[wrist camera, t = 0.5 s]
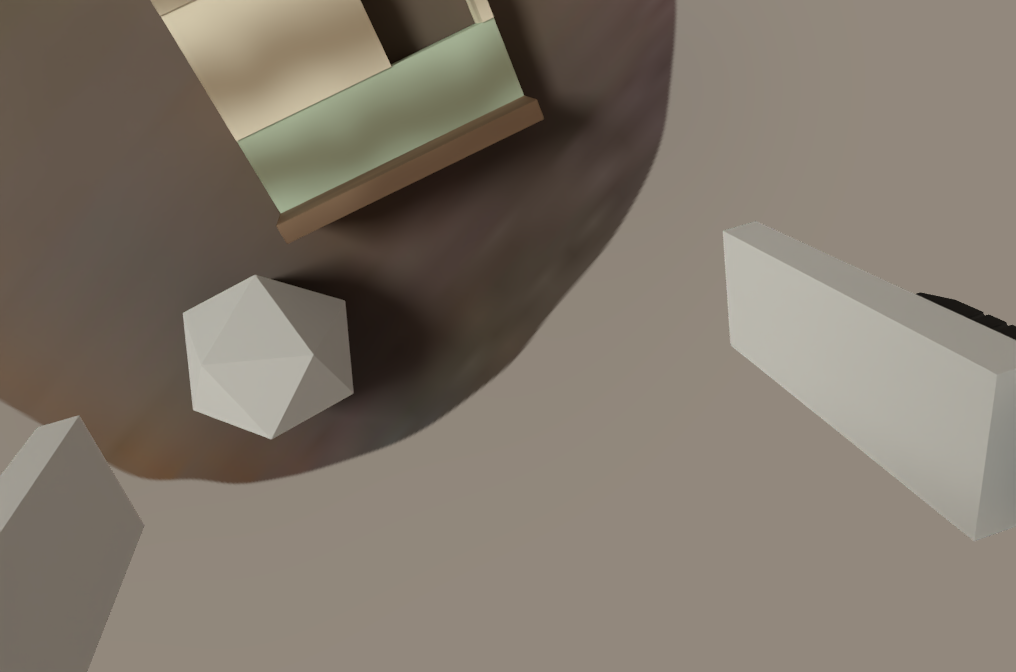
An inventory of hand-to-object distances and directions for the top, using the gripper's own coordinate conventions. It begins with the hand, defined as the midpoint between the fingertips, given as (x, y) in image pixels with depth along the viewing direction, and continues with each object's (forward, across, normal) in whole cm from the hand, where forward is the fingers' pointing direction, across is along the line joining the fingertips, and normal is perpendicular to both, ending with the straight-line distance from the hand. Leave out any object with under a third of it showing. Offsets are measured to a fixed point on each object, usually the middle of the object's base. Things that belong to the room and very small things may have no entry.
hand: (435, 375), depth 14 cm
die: (+26, -8, -8) cm, 29 cm away
